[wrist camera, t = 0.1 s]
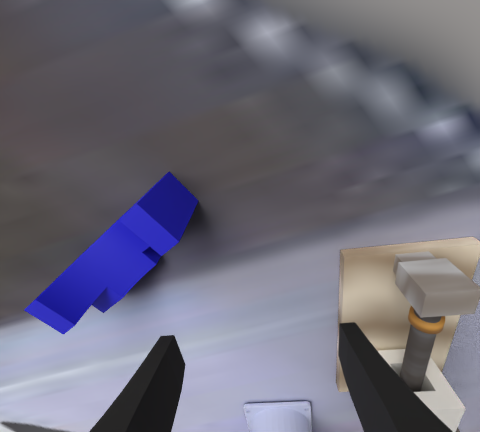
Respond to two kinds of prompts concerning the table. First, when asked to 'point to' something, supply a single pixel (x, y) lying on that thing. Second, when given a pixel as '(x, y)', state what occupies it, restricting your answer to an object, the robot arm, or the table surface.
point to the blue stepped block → (118, 256)
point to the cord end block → (432, 390)
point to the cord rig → (409, 299)
